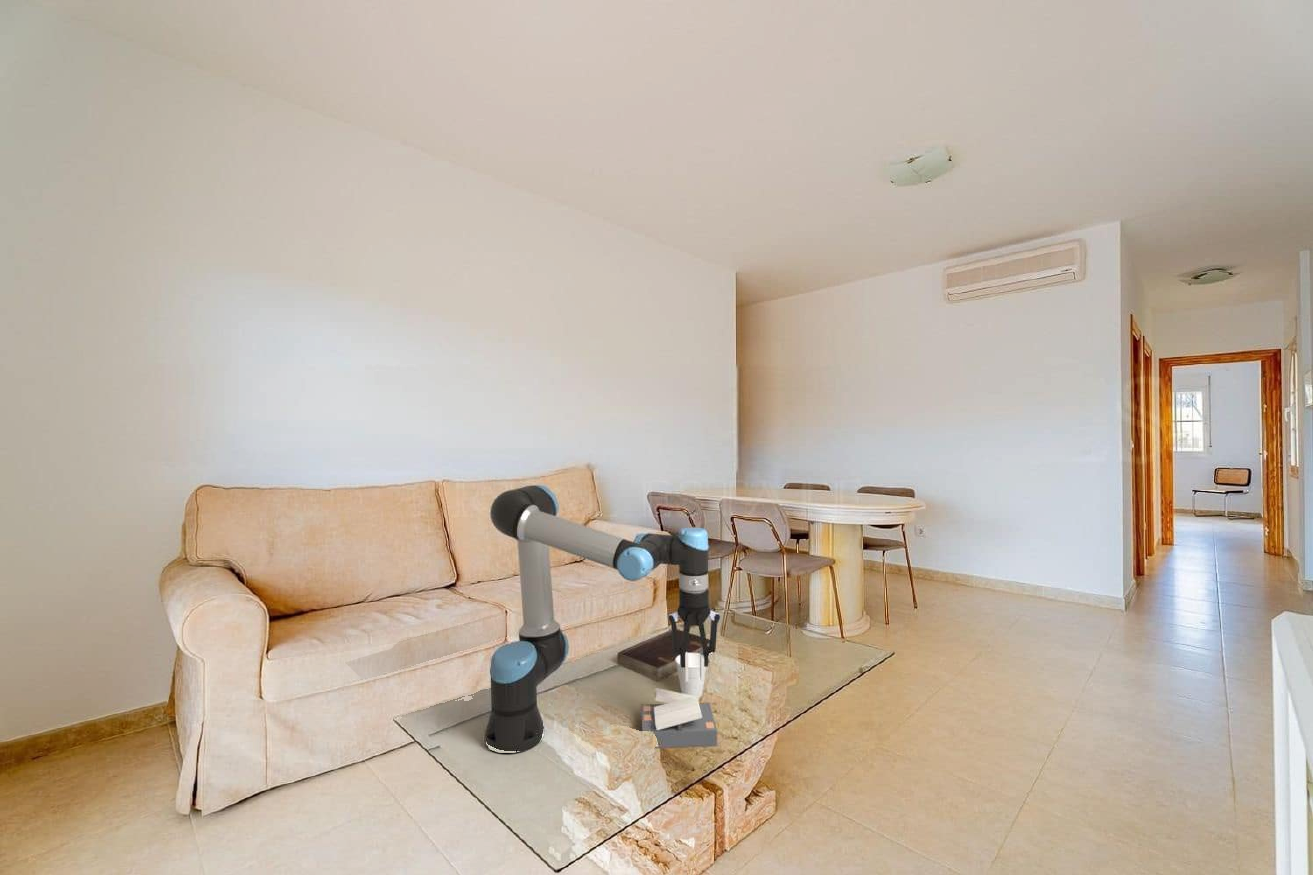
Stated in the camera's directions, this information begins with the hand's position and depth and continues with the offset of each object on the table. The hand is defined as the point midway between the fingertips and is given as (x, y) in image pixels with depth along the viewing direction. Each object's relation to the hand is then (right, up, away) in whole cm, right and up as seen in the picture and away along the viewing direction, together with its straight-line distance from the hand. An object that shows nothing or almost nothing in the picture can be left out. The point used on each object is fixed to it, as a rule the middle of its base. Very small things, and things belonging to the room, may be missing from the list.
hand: (694, 678), depth 144 cm
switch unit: (-4, -16, +5) cm, 18 cm away
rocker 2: (-4, -11, 0) cm, 11 cm away
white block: (-4, -11, +5) cm, 12 cm away
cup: (+1, -16, +24) cm, 29 cm away
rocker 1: (-4, -10, +10) cm, 15 cm away
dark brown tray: (-6, -15, +50) cm, 53 cm away
